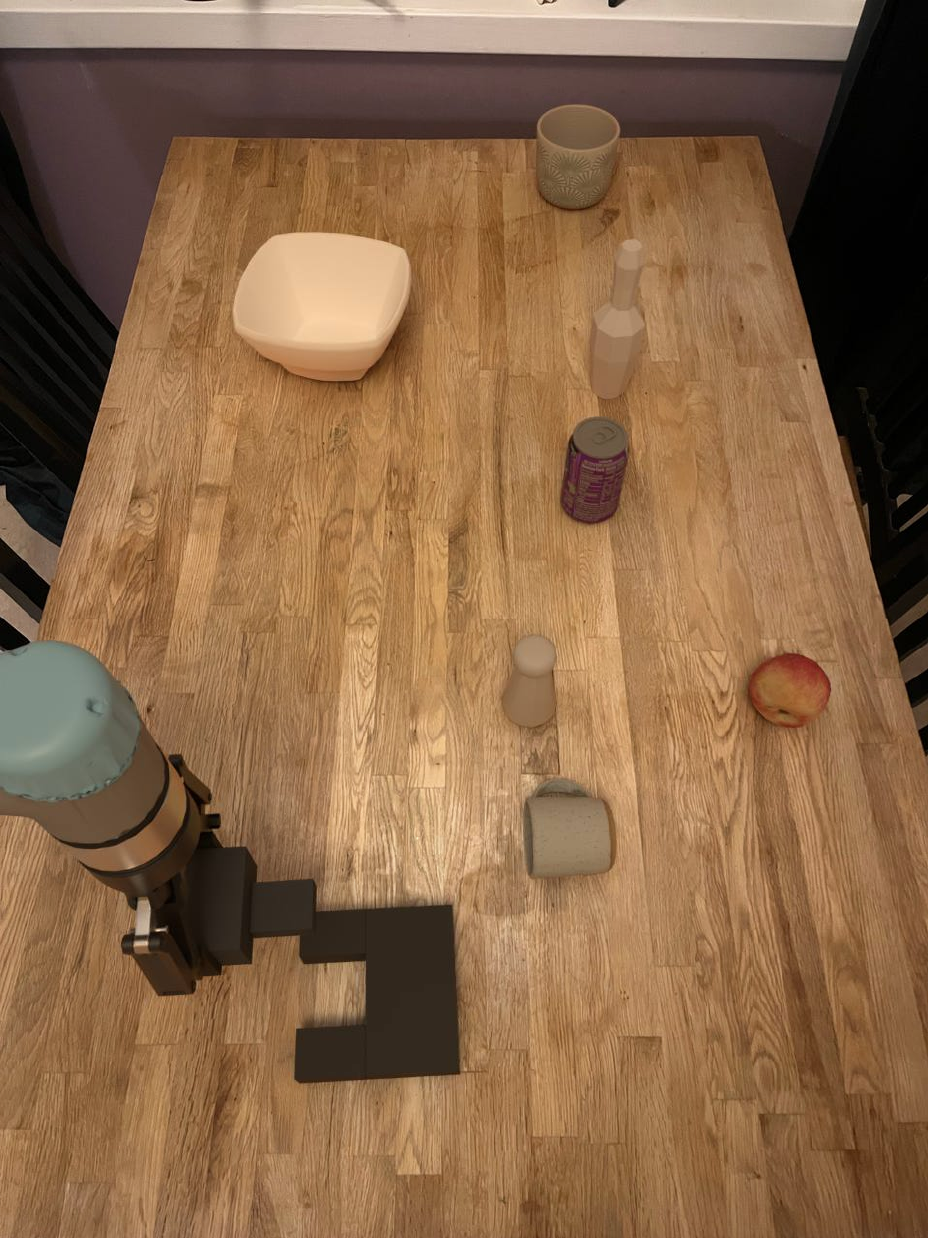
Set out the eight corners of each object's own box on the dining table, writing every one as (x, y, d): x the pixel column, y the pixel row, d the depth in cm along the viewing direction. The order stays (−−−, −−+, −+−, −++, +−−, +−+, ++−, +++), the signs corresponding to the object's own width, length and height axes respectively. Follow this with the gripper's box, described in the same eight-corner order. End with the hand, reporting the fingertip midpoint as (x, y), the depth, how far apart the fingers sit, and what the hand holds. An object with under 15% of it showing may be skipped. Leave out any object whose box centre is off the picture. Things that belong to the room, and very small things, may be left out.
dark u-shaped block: (299, 1084, 83) (294, 1079, 81) (305, 921, 91) (300, 912, 88) (459, 1074, 83) (459, 1070, 81) (452, 913, 91) (452, 904, 88)
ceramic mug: (612, 883, 92) (623, 856, 86) (528, 890, 92) (533, 863, 86) (595, 782, 98) (604, 749, 92) (516, 788, 98) (519, 755, 91)
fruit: (727, 703, 103) (746, 667, 96) (774, 663, 106) (795, 625, 99) (783, 754, 100) (807, 720, 93) (830, 712, 102) (856, 675, 96)
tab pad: (163, 970, 76) (145, 955, 72) (173, 870, 80) (157, 851, 76) (315, 960, 76) (306, 945, 72) (317, 862, 80) (309, 842, 76)
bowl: (396, 423, 125) (390, 354, 115) (232, 403, 127) (213, 334, 117) (426, 310, 137) (423, 240, 127) (276, 294, 139) (262, 223, 129)
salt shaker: (545, 742, 100) (555, 683, 90) (493, 726, 101) (497, 666, 91) (560, 696, 103) (572, 633, 92) (510, 681, 104) (515, 617, 93)
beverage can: (589, 473, 120) (601, 404, 110) (629, 507, 117) (645, 439, 107) (548, 501, 118) (555, 432, 108) (587, 536, 115) (599, 469, 105)
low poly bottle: (575, 379, 129) (593, 237, 111) (615, 364, 131) (640, 222, 112) (599, 409, 126) (623, 269, 108) (640, 394, 128) (670, 252, 109)
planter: (573, 161, 156) (579, 94, 147) (627, 196, 151) (637, 129, 142) (516, 190, 152) (519, 123, 143) (570, 227, 147) (577, 161, 138)
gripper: (89, 669, 64) (175, 798, 83) (33, 997, 53) (147, 1058, 72) (202, 663, 64) (262, 793, 84) (170, 988, 53) (247, 1051, 72)
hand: (209, 915), depth 78 cm, fingers closed on tab pad, 8 cm apart
